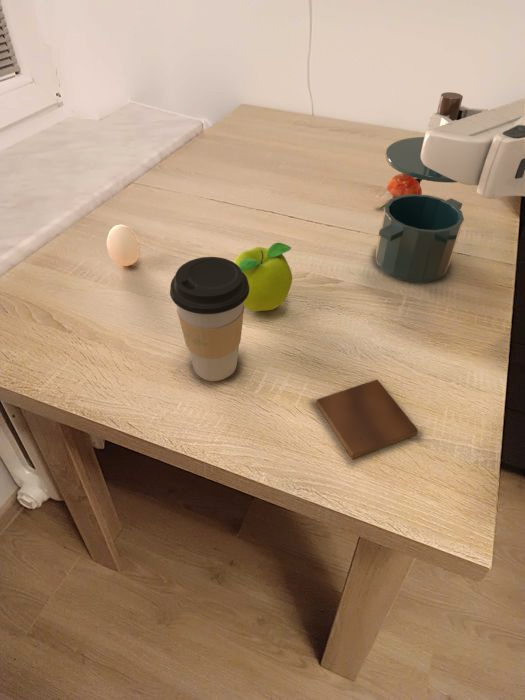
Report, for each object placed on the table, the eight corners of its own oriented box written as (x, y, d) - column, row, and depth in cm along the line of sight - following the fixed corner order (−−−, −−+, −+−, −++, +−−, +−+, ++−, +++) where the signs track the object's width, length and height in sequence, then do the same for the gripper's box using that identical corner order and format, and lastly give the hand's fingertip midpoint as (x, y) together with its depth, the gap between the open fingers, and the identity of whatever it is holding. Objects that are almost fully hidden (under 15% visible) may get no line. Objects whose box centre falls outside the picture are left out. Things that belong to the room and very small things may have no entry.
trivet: (376, 384, 66) (377, 379, 66) (416, 435, 60) (418, 430, 60) (315, 404, 64) (316, 399, 63) (351, 459, 58) (353, 454, 57)
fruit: (302, 310, 77) (306, 255, 71) (250, 331, 74) (250, 275, 67) (270, 280, 83) (271, 226, 76) (220, 298, 79) (217, 243, 72)
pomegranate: (390, 228, 100) (437, 200, 96) (372, 199, 96) (420, 169, 92) (385, 214, 106) (429, 187, 102) (368, 186, 102) (413, 157, 98)
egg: (105, 265, 86) (95, 227, 81) (128, 252, 89) (120, 214, 84) (126, 276, 83) (117, 238, 78) (149, 262, 86) (142, 224, 81)
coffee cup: (168, 380, 67) (153, 289, 56) (199, 335, 73) (190, 246, 63) (234, 399, 64) (230, 308, 54) (259, 351, 71) (260, 262, 60)
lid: (507, 168, 67) (531, 98, 61) (446, 197, 60) (467, 123, 54) (425, 138, 74) (439, 73, 68) (363, 161, 68) (374, 92, 62)
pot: (472, 260, 88) (489, 211, 81) (404, 297, 80) (417, 246, 73) (417, 231, 95) (429, 183, 88) (349, 262, 87) (357, 212, 81)
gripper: (604, 103, 58) (500, 75, 66) (498, 144, 49) (392, 105, 57) (580, 157, 62) (485, 124, 70) (478, 203, 53) (383, 160, 61)
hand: (443, 116), depth 63 cm, fingers closed on lid, 2 cm apart
